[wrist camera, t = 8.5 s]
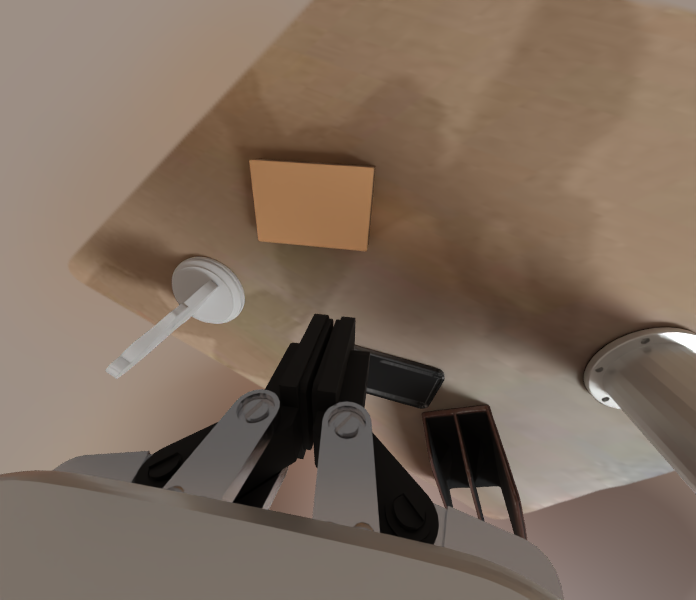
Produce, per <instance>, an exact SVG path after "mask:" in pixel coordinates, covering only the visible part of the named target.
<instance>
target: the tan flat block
mask: <svg viewBox="0 0 696 600" xmlns="http://www.w3.org/2000/svg"><path fill="white" fill-rule="evenodd" d="M249 163H250V171H251V180H252V189H253V197H254V206H255V215H256V224H257V232H258V241H263V242H274V243H284V244H295V245H305V246H316V247H326V248H337V249H347V250H358V251H367V248H368V244H369V233H370V222H371V211H372V199H373V188H374V177H375V166H365V165H349V164H333V163H317V162H302V161H286V160H270V159H254V160H249Z"/></svg>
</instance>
